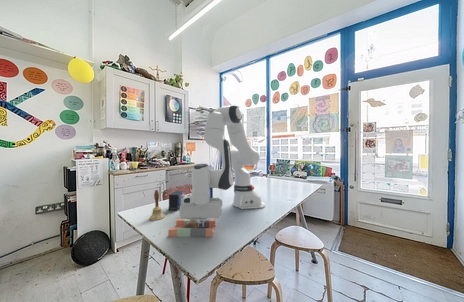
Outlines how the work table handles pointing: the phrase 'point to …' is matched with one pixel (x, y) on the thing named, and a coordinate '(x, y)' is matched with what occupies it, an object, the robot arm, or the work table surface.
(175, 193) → the small box
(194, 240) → the work table surface
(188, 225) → the walnut block
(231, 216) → the work table surface
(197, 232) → the multicolored rectangular frame
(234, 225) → the work table surface
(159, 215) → the hand bell
